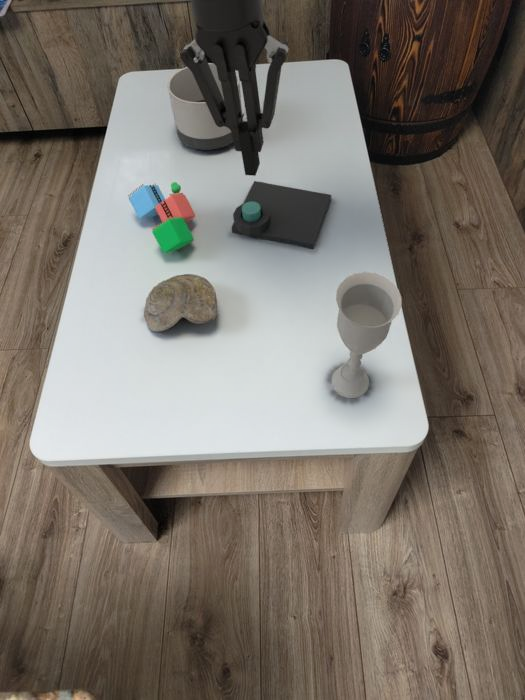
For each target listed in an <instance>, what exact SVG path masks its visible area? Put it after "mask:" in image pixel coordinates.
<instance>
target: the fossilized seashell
mask: <svg viewBox="0 0 525 700" xmlns="http://www.w3.org/2000/svg"><path fill="white" fill-rule="evenodd" d="M217 316H218V299H217V292H216V290H215V288H214V286H213V284H211V282H210V281H209V280H208V279H207V278H205V277H204V276H201V275H198V274H193V273H185V274H176V275H174V276H172V277H170V278H167V279H166V280H162V281H161V282H159V283H157V285H155V286H153V288H152V289H151V290H150V291H149V293H148V295H147V297H146V298H145V304H144V311H143V317H144V318H145V322H146V326H147V327H148V328H149V330H151V331H153V332H157V333H158V332H159V333H160V332H164V331H168V330H169V329H171V328H172V327H174V326H175V325H176V324H177V323H179V322H180V320H181V319H183V318H184V319H186V321H188V322H190V323H192V324H199V325H200V324H207V323H209V322H213V320H215V319H216V318H217Z"/></svg>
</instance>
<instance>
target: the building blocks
mask: <svg viewBox="0 0 525 700" xmlns="http://www.w3.org/2000/svg"><path fill="white" fill-rule="evenodd" d="M170 187H171V188H170V189H171V191H170V192H172V193H169V197H167V198H165V196H164V194H163V192H162V190H161V188H160V186H159V185H158V184H157V183H154V184H147V185H144V183H142V184H140V186H138V187H137V188H135V189H134V190H132V191H131V192H130V193H129V194H127V196H128V201H129V202H130V204H131V206H132V208H133V210H134V212H135V214H136V216H137V217H138V219H140V220H142V219H149V218H154V217H156V216H157V215H158V216H159V219H160V220H161V222H160V223H158V224H156V225H155V226H154V227H152V228H151V232H152V235H153V237H154V239H155V240H156V242H157V244H158V247H159V248H160V250H161V252H162V253H163V254H169V253H173V252H176V251H179V250H181V249H182V248H184V247H185V246H187V245H190V243H192V242H193V241H194V239H195V238H194V236H193V234H192V232H191V230H190V229H189V227H188V225H187V223H188V222H190V221H191V220H192V219H193V218H195V217H196V214H195V212H194V209H193V208H192V206H191V204H190V201H189V200H188V198H187V196H186V194H184V193H183V192H181V190H182V187H181V185H180V184H178V183H177V182H176V181H173V182H171V184H170Z"/></svg>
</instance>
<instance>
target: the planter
mask: <svg viewBox="0 0 525 700" xmlns="http://www.w3.org/2000/svg"><path fill="white" fill-rule="evenodd" d="M208 64H209V67H210V69H211V71H212V74H213V76H214V78H215V81H216V83H217V85H218V88H219V90H220V93H221V95H222V97H223V92H222V86H221V81H219V78H218V73H217V68H216V66H215V64H214V63H213V62H208ZM236 78H237V85H238V91H239V98H240V104H241V110H242V111H243V106H242V96H241V95H242V93H241V81H240V80H239V74H238V72H236ZM167 90H168V91H167V92H168V96H169V100H170V106H171V109H172V115H173V119H174V124H175V128H176V129H175V130H176V134H177V137H178V139H179V140H180V142H181V143H183V144H184V145H186V146H187V147H190V148H192V149H196V150H203V151H209V150H218V149H221V148H224V147H227V146H229V145H232V144H233V138H232V133H231V130H230V129H229V128H227V127H225V126H223V127H218V126H217V125H216V124H215V122H214V120H213V117H212V115H211V113H210V111H209V109H208V106H207V104H206V102H205V100H204V98H203V95H202V93H201V91H200V89H199V87H198V84H197V82H196V80H195V78H194V76H193V73H192V72H191V71H190V69H189V68H188V67H187V66H186V67H183V68H181V69H180V70H179V69H178V71H176V72H175V73H174V74H172V76H171V77H170V78H169V80H168V82H167ZM223 100H224V97H223ZM243 121H244V118H243V119H242V123H243Z"/></svg>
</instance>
